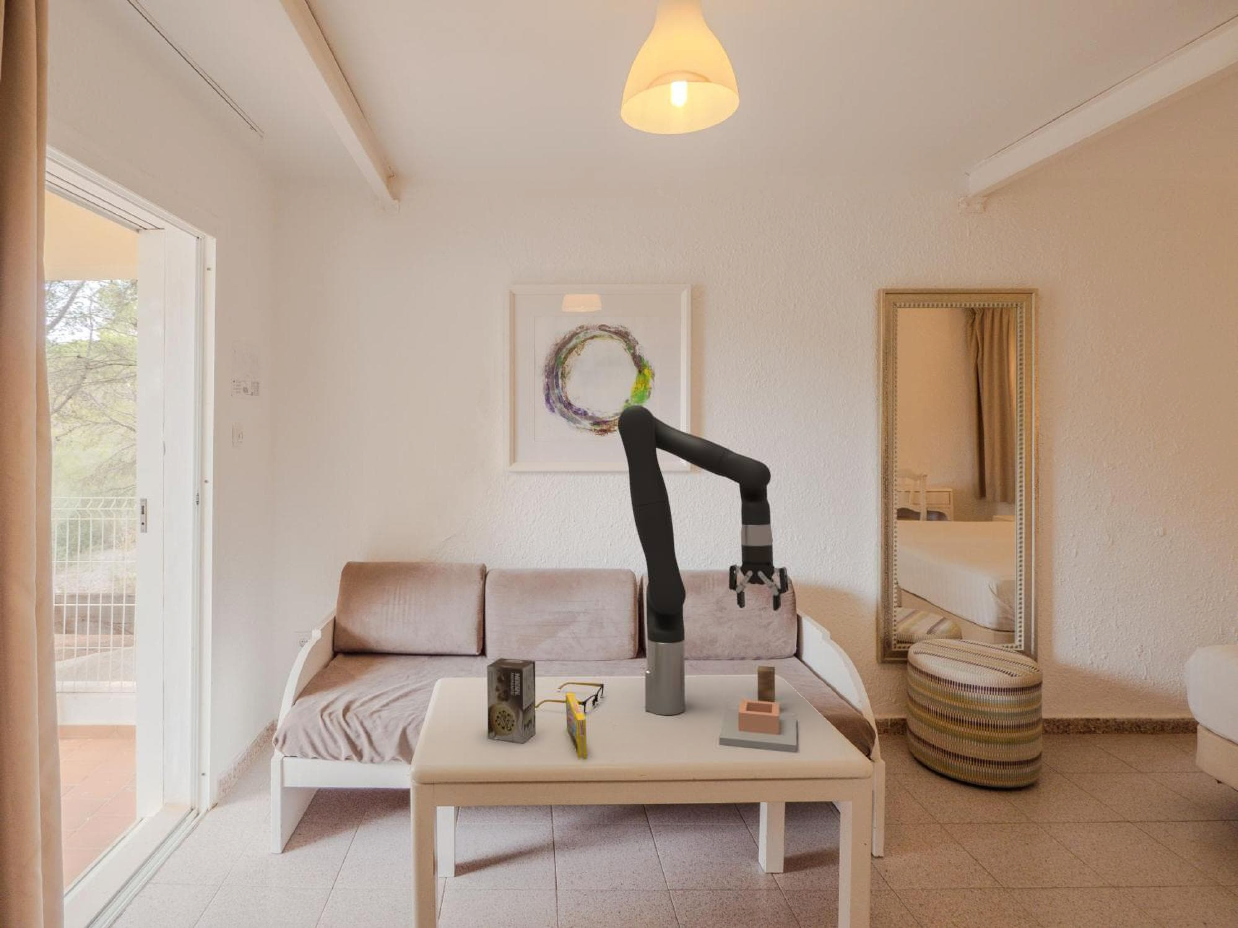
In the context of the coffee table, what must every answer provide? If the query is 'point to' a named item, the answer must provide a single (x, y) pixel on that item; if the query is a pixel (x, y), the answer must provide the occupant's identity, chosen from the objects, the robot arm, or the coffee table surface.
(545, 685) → the coffee table surface
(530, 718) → the coffee box
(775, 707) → the socket block
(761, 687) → the walnut peg
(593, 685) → the eyeglasses
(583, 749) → the candy box
